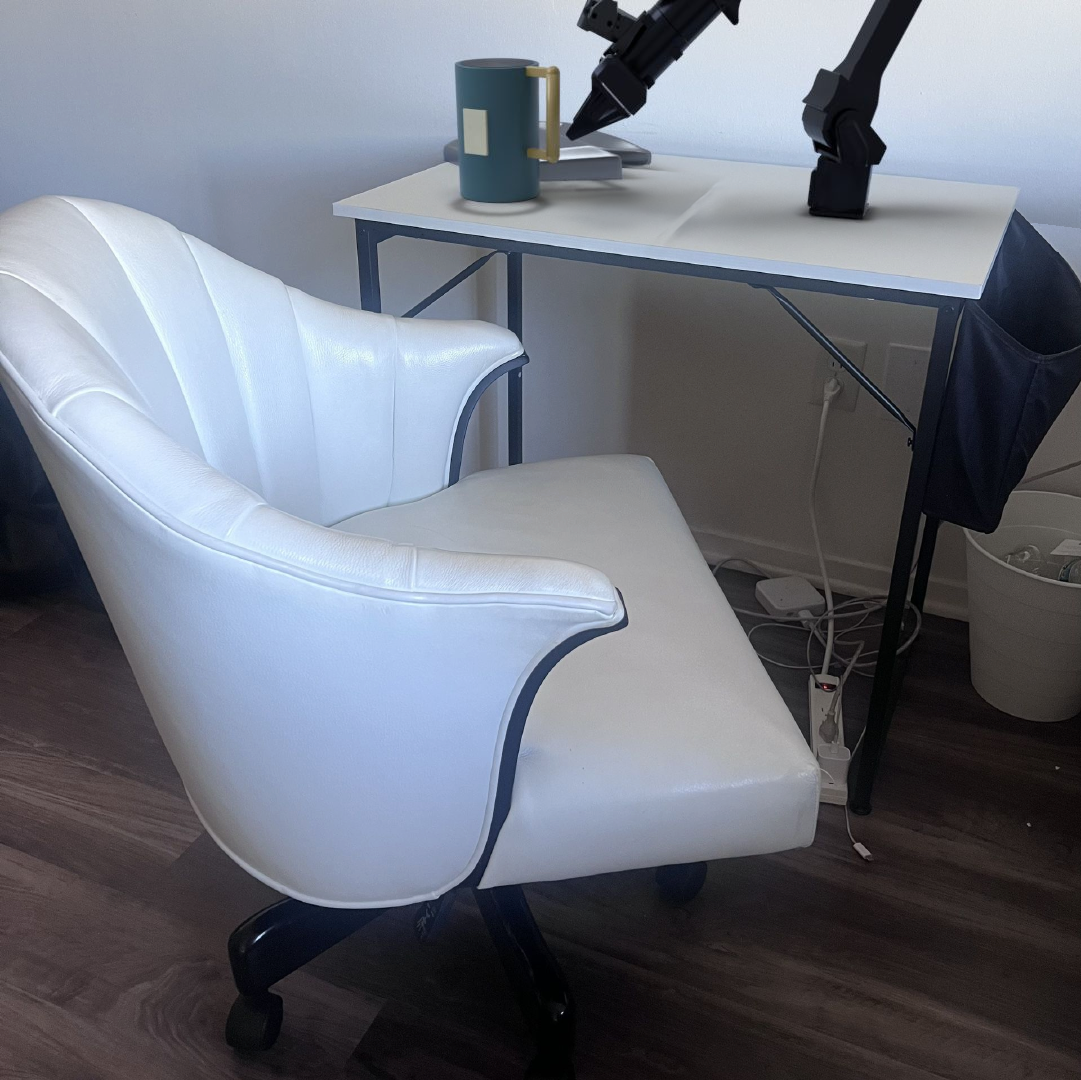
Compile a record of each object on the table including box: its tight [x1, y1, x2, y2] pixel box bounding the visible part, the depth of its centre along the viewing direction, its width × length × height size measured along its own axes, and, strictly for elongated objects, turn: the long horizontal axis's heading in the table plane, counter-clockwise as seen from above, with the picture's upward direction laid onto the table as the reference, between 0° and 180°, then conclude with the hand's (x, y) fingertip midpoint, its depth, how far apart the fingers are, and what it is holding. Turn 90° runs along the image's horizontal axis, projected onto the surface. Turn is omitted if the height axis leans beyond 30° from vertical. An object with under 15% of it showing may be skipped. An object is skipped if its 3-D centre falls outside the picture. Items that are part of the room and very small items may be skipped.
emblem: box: [442, 120, 653, 182], centre depth 146 cm, size 28×5×28 cm
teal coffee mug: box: [454, 57, 561, 204], centre depth 125 cm, size 14×10×15 cm
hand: (572, 130), depth 120 cm, fingers open, 9 cm apart
